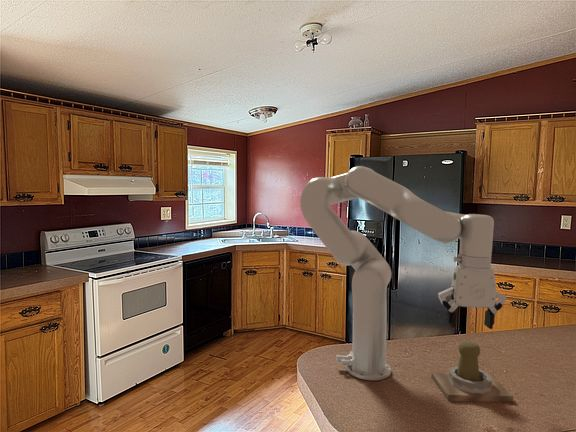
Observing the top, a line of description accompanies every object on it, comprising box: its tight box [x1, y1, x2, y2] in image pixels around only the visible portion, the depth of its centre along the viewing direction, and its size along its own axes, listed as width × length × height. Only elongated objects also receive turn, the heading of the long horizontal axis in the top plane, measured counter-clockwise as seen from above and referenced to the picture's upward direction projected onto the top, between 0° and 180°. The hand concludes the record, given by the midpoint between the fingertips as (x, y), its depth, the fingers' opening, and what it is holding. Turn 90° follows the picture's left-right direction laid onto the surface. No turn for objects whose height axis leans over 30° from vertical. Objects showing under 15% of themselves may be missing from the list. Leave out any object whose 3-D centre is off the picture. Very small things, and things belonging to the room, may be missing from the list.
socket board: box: [431, 365, 514, 403], centre depth 103 cm, size 16×12×4 cm
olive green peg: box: [457, 340, 481, 382], centre depth 103 cm, size 6×6×11 cm
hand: (469, 326), depth 103 cm, fingers open, 9 cm apart
